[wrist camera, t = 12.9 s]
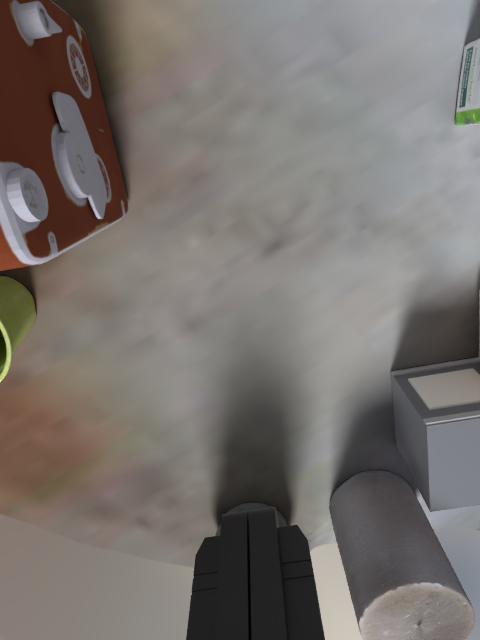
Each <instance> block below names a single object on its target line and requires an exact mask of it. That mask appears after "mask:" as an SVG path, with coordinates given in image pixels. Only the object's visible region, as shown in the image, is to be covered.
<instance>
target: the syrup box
mask: <svg viewBox="0 0 480 640" xmlns="http://www.w3.org/2000/svg"><path fill="white" fill-rule="evenodd" d="M463 55H464V56H463V63H462V70H461V76H460V84H459V92H458V101H457V110H456V119H455V125H456V126H460V125H476V124H480V39H477V40H475V41H473V42H470V43H468V44H467V45H466V46H465V47H464V53H463Z"/></svg>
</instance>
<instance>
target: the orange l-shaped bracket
mask: <svg viewBox="0 0 480 640" xmlns="http://www.w3.org/2000/svg"><path fill="white" fill-rule="evenodd" d="M479 359H480V290H479Z"/></svg>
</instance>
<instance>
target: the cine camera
mask: <svg viewBox="0 0 480 640" xmlns="http://www.w3.org/2000/svg"><path fill="white" fill-rule="evenodd" d="M127 211H128V201H127V196H126V191H125V187H124V183H123V179H122V175H121V171H120V166H119V162H118V158H117V154H116V150H115V146H114V142H113V138H112V134H111V130H110V126H109V122H108V118H107V113H106V109H105V105H104V101H103V97H102V93H101V89H100V85H99V81H98V77H97V73H96V69H95V64H94V60H93V56H92V52H91V49H90V46H89V42H88V39H87V37H86V34H85V32H84V30H83V29H82V28H81V26H80V25H79V24H78V23H77V22H76V21H75V20H74V19H73V18H72V17H71V16H70V15H69V14H67V13H66V12H65V11H64V10H63V9H61V8H60V7H59V6H58V5H56V4H55V3H54V2H52V1H51V0H0V271H3V270H9V269H15V268H21V267H27V266H33V265H39V264H42V263H44V262H47V261H49V260H51V259H53V258H55V257H57V256H58V255H60V254H62V253H64V252H66V251H67V250H69V249H71V248H73V247H74V246H76V245H78V244H80V243H82V242H83V241H85V240H87V239H89V238H90V237H92V236H94V235H96V234H98V233H99V232H101V231H103V230H105V229H106V228H108V227H110V226H112V225H113V224H115V223H117V222H118V221H120V220H121V219H122V218H123V217H124V216H125V215H126V213H127Z"/></svg>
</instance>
